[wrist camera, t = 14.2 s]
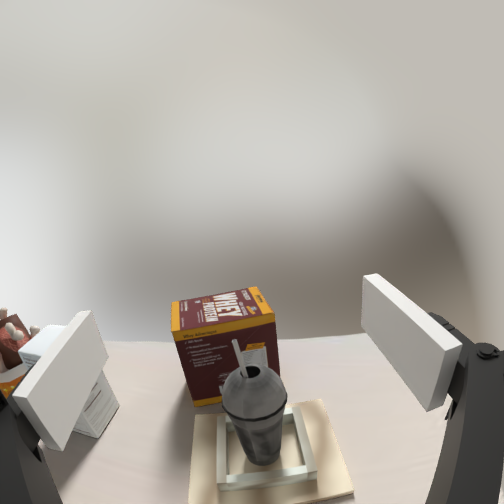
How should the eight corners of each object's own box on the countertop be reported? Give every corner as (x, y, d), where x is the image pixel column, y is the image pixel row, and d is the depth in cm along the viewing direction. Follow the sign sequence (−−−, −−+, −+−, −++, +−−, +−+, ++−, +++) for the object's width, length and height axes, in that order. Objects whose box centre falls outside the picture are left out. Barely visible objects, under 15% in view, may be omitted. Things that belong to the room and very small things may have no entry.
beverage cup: (301, 453, 33) (299, 334, 27) (258, 483, 29) (234, 369, 23) (267, 426, 39) (252, 310, 33) (226, 451, 35) (193, 335, 29)
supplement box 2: (189, 372, 55) (170, 301, 50) (266, 356, 58) (257, 285, 53) (193, 408, 45) (169, 331, 41) (282, 388, 48) (275, 310, 44)
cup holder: (189, 513, 26) (181, 503, 25) (196, 418, 43) (191, 404, 42) (353, 492, 26) (357, 481, 25) (321, 402, 43) (321, 387, 42)
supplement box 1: (121, 405, 46) (87, 326, 41) (99, 440, 37) (53, 358, 32) (82, 396, 47) (48, 322, 42) (59, 426, 38) (15, 350, 33)
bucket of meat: (73, 375, 53) (39, 292, 48) (38, 425, 38) (-14, 333, 32) (18, 366, 55) (-13, 294, 49) (-16, 404, 39) (-58, 326, 33)
